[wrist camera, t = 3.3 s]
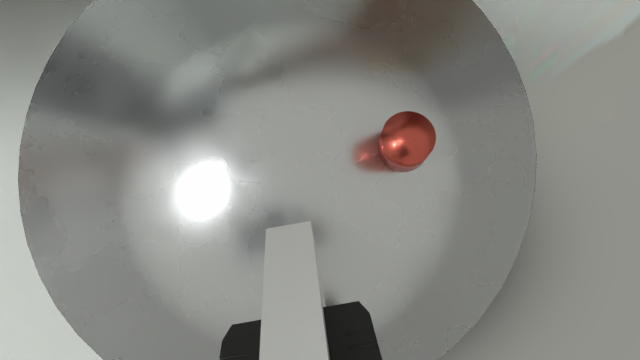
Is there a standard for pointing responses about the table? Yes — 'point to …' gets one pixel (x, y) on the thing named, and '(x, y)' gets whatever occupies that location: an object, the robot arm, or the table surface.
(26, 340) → the table surface
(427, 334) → the lid
